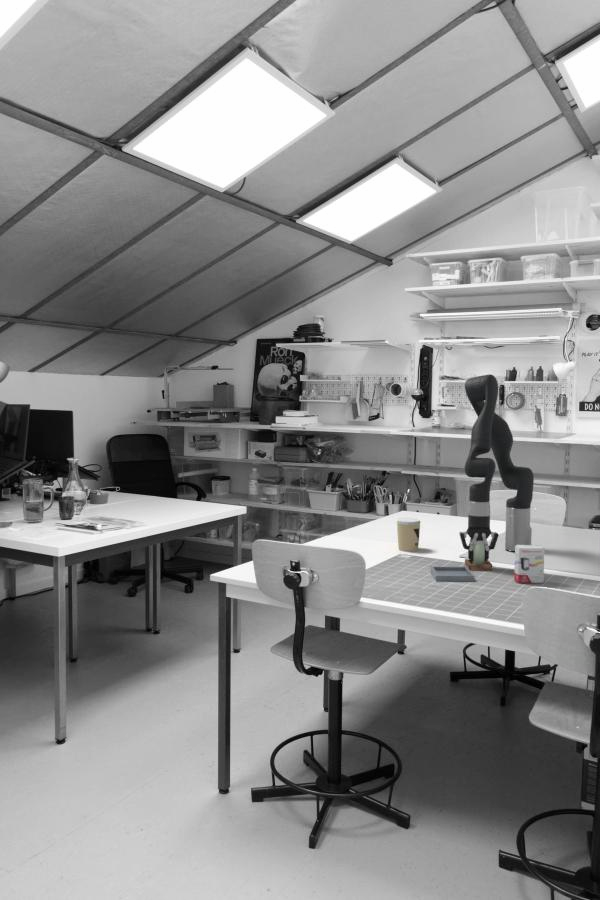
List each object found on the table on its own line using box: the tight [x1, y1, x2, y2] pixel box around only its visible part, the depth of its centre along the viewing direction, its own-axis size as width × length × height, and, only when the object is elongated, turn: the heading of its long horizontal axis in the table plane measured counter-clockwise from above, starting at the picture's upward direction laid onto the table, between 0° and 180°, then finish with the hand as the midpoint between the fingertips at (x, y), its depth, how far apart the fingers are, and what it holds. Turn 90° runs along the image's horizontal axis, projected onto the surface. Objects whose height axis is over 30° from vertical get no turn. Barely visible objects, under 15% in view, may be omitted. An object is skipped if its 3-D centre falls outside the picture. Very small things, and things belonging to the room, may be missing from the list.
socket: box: [464, 558, 493, 571], centre depth 254 cm, size 8×8×2 cm
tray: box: [430, 565, 475, 582], centre depth 242 cm, size 13×13×2 cm
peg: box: [472, 541, 485, 564], centre depth 253 cm, size 4×4×10 cm
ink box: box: [513, 544, 545, 584], centre depth 235 cm, size 9×5×12 cm, turn 89°
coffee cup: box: [396, 517, 421, 553], centre depth 282 cm, size 9×9×12 cm
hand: (478, 560), depth 254 cm, fingers closed on peg, 4 cm apart
